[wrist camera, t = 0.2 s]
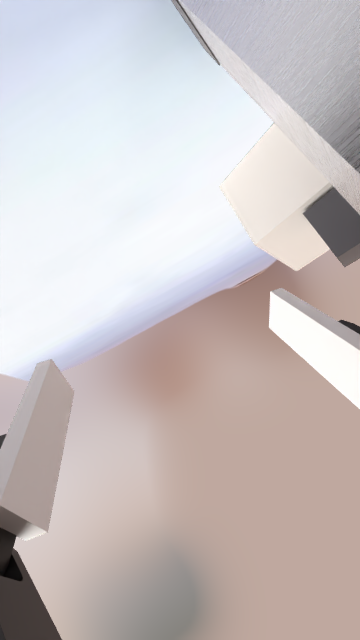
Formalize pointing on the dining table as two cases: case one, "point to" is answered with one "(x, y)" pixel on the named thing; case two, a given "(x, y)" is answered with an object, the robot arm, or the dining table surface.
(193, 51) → the dining table surface
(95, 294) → the dining table surface
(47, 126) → the dining table surface
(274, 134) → the bevelled white plinth
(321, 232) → the knob
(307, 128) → the white tall square post
